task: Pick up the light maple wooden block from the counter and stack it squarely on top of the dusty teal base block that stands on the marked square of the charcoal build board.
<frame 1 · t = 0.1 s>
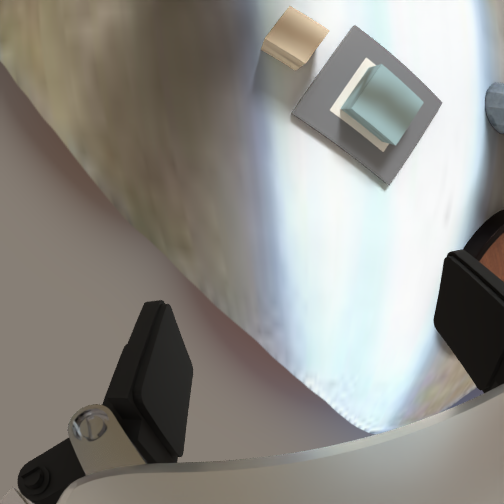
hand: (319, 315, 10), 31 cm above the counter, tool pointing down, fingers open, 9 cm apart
teal base block: (376, 104, 34), point 1 cm above the counter, touching build board
maple block: (289, 45, 32), on the counter
moka pot: (501, 106, 34), on the counter
build board: (372, 104, 35), on the counter
round serving tray: (497, 279, 48), on the counter
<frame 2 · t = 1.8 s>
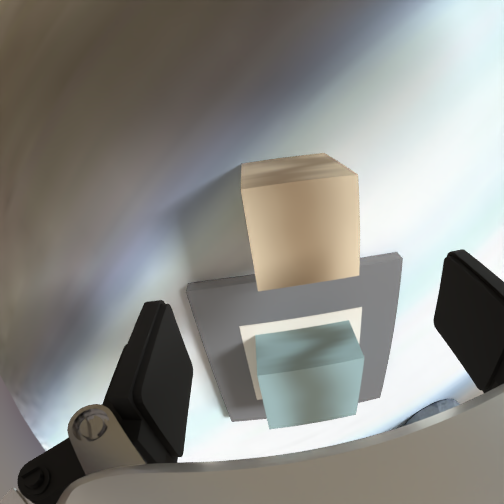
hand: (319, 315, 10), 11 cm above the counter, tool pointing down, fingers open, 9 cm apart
teal base block: (304, 360, 24), point 1 cm above the counter, touching build board
maple block: (288, 197, 19), on the counter
moka pot: (431, 416, 33), on the counter
build board: (303, 351, 25), on the counter
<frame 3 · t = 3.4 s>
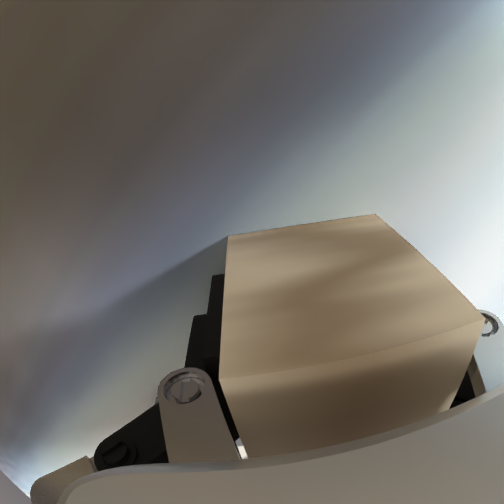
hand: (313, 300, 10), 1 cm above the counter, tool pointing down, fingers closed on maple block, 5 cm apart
maple block: (309, 289, 11), on the counter, touching gripper
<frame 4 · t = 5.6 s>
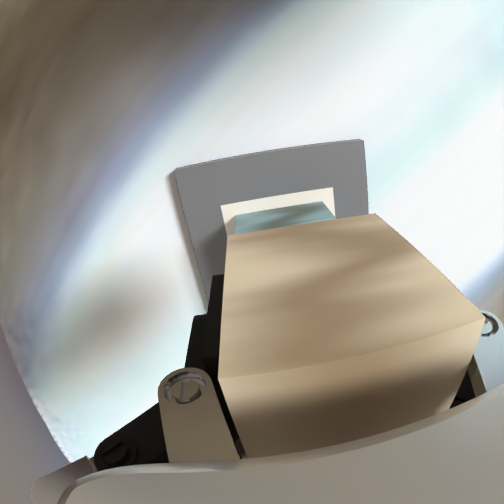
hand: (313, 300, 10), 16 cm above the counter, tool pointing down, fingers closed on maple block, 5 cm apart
teal base block: (284, 247, 26), point 1 cm above the counter, touching build board
maple block: (309, 288, 11), point 15 cm above the counter, touching gripper
build board: (283, 242, 27), on the counter
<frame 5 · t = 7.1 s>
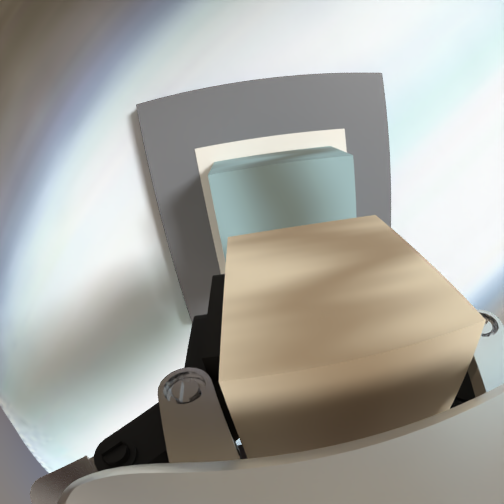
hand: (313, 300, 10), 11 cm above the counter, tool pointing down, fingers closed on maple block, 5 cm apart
teal base block: (280, 208, 19), point 1 cm above the counter, touching build board
maple block: (309, 290, 11), point 10 cm above the counter, touching gripper
build board: (278, 203, 20), on the counter
when the fingers open (7 cm above the counter, at t = 8.3 s): maple block drops 1 cm, resting on teal base block.
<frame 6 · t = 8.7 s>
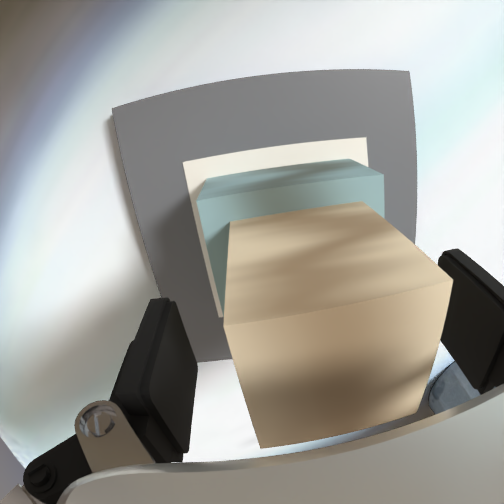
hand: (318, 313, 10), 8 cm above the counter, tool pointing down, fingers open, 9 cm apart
teal base block: (288, 234, 16), point 1 cm above the counter, touching build board, maple block
maple block: (304, 270, 12), point 5 cm above the counter, touching teal base block
moka pot: (464, 376, 25), on the counter
build board: (285, 226, 17), on the counter
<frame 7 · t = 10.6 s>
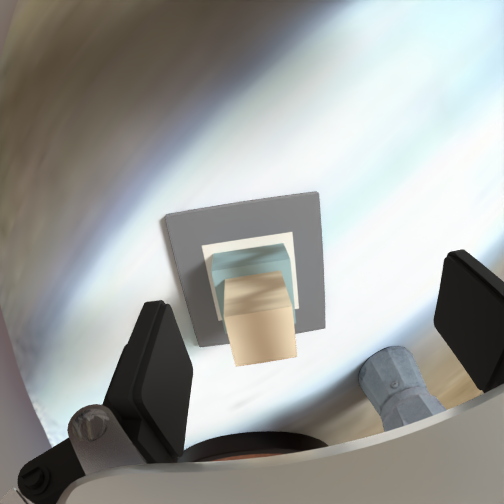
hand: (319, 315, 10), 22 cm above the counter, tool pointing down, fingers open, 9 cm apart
teal base block: (253, 279, 33), point 1 cm above the counter, touching build board, maple block
maple block: (256, 298, 29), point 5 cm above the counter, touching teal base block
moka pot: (387, 367, 41), on the counter
build board: (252, 274, 33), on the counter
round serving tray: (255, 469, 51), on the counter
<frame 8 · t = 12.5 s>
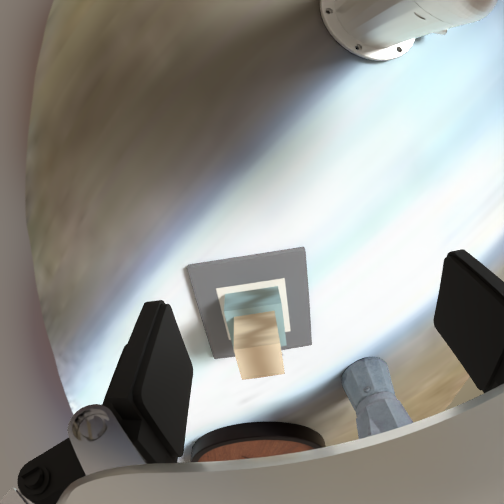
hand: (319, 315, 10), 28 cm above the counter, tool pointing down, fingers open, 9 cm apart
teal base block: (255, 311, 42), point 1 cm above the counter, touching build board, maple block
maple block: (257, 329, 39), point 5 cm above the counter, touching teal base block
moka pot: (365, 372, 51), on the counter
build board: (254, 307, 43), on the counter
round serving tray: (258, 453, 63), on the counter
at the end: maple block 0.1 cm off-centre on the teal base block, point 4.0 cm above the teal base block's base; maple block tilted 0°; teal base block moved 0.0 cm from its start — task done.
